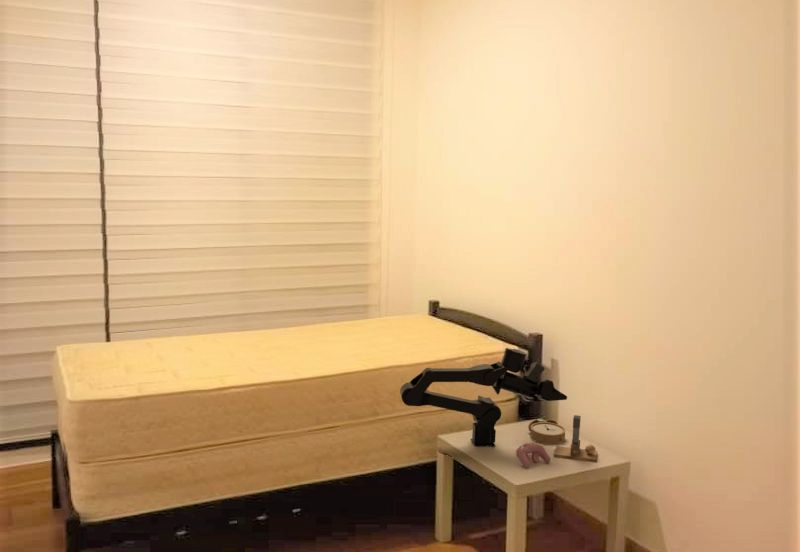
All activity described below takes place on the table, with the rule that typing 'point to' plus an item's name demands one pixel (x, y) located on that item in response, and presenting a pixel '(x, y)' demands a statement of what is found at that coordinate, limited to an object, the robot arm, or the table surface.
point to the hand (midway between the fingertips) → (561, 398)
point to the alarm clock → (546, 431)
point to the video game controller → (536, 452)
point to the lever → (576, 429)
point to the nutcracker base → (576, 452)
